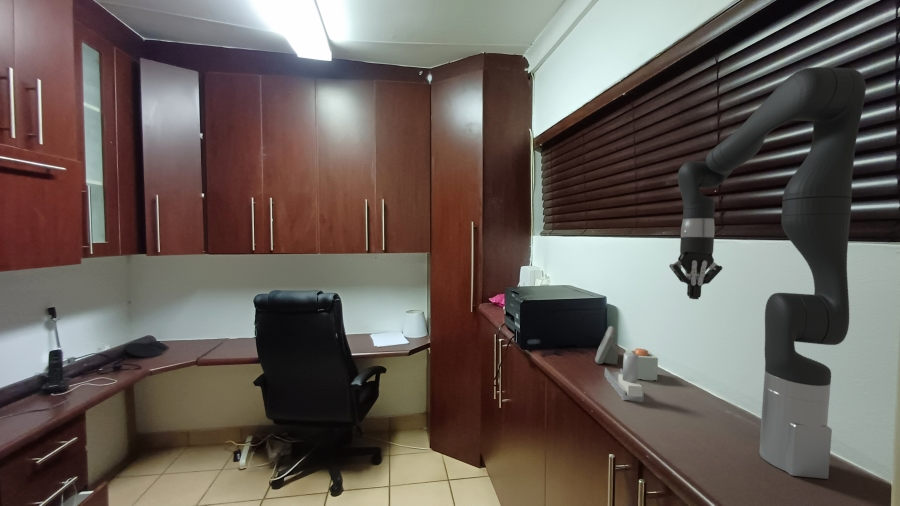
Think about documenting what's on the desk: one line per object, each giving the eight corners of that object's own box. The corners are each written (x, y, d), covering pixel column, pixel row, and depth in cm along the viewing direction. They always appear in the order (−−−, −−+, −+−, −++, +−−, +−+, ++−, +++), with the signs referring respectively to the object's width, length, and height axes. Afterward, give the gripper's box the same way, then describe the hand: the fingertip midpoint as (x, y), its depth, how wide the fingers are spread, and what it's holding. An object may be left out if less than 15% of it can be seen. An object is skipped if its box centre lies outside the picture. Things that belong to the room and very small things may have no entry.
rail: (643, 401, 96) (643, 391, 96) (623, 400, 97) (623, 390, 97) (621, 377, 113) (621, 368, 113) (604, 376, 114) (604, 367, 114)
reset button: (649, 362, 113) (649, 352, 112) (637, 361, 113) (637, 351, 113) (644, 358, 116) (645, 348, 116) (632, 357, 117) (633, 348, 116)
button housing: (656, 380, 111) (658, 358, 111) (632, 379, 112) (633, 356, 112) (647, 372, 118) (648, 350, 118) (624, 370, 119) (625, 349, 118)
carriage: (642, 396, 95) (643, 360, 95) (627, 395, 96) (629, 359, 95) (630, 384, 103) (632, 350, 103) (617, 383, 104) (619, 349, 103)
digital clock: (599, 351, 139) (600, 323, 138) (625, 356, 133) (626, 327, 133) (585, 362, 126) (587, 332, 126) (613, 368, 121) (615, 337, 120)
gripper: (715, 236, 102) (711, 297, 103) (665, 235, 104) (661, 295, 105) (732, 236, 95) (728, 302, 96) (678, 235, 96) (674, 300, 97)
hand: (693, 298), depth 100 cm, fingers closed
